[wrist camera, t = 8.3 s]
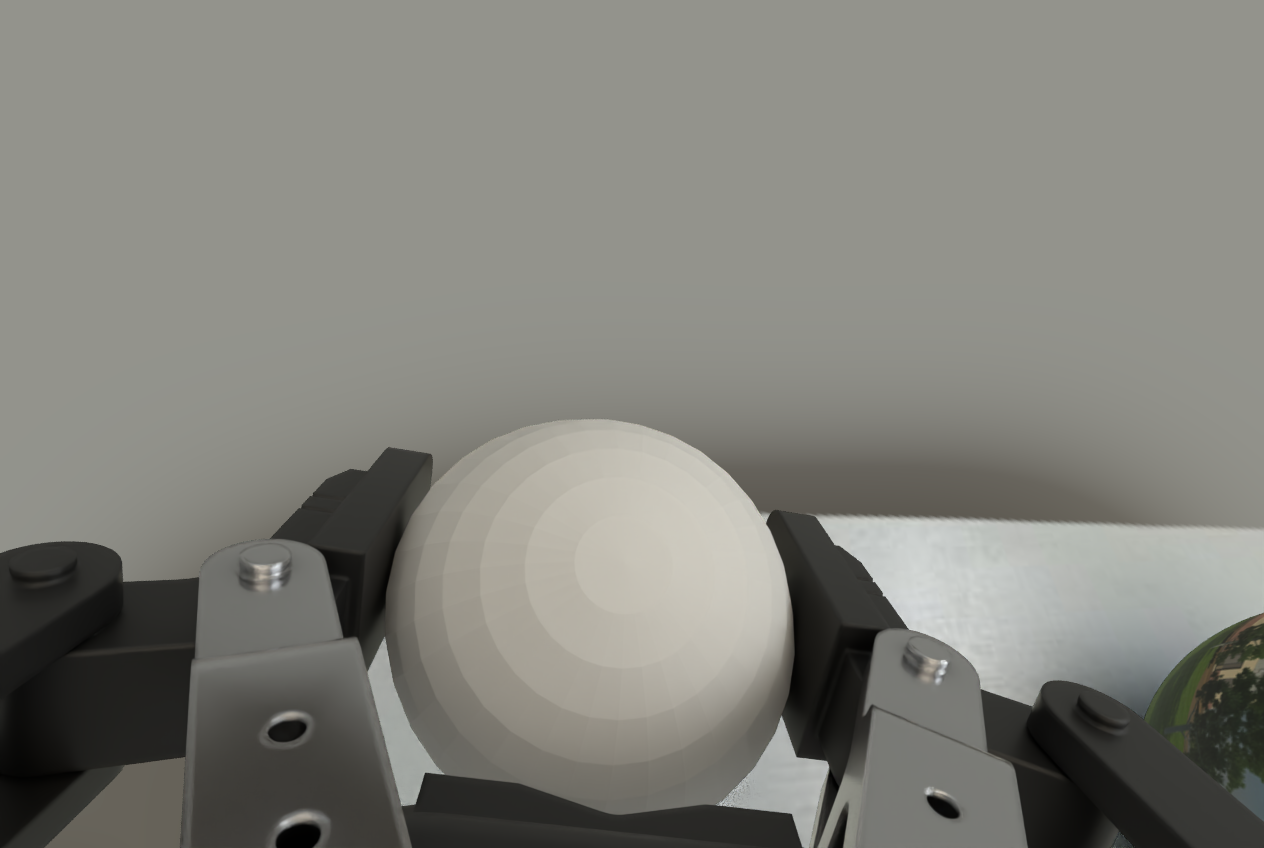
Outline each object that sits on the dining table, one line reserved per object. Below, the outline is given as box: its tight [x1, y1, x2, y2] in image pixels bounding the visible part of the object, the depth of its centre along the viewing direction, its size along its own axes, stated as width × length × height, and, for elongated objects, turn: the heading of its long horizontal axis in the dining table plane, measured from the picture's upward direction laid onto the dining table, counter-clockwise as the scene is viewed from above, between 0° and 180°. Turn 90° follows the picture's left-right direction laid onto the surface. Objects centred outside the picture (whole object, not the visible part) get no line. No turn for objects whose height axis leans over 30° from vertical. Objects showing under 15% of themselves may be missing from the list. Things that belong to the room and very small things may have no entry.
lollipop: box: [385, 419, 795, 815], centre depth 14 cm, size 6×6×15 cm
